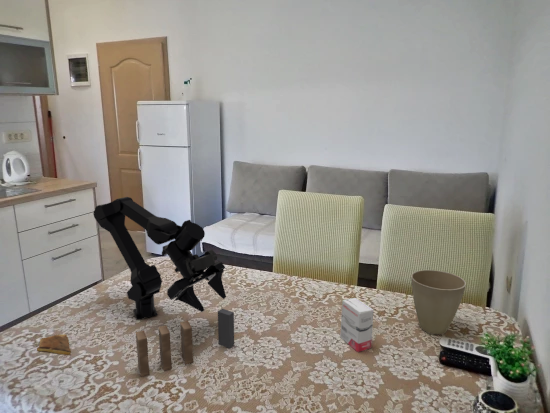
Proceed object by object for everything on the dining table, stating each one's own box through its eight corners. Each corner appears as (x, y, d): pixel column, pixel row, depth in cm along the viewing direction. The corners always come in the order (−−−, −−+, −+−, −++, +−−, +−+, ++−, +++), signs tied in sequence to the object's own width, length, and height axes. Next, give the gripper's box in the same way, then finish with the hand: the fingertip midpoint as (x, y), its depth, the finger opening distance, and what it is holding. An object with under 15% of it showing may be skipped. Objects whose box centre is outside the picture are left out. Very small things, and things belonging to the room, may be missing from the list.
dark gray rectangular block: (229, 348, 110) (229, 315, 108) (218, 344, 112) (217, 311, 110) (234, 345, 112) (233, 312, 109) (223, 340, 114) (222, 308, 112)
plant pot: (466, 327, 122) (473, 278, 118) (448, 347, 111) (455, 294, 108) (419, 311, 132) (423, 265, 128) (398, 328, 121) (402, 279, 118)
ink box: (372, 348, 111) (375, 309, 108) (357, 352, 109) (360, 313, 106) (353, 333, 118) (355, 296, 116) (339, 337, 116) (341, 299, 114)
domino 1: (141, 377, 98) (138, 340, 96) (138, 367, 102) (135, 332, 99) (149, 374, 99) (146, 338, 97) (146, 365, 102) (144, 330, 100)
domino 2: (163, 370, 100) (161, 334, 98) (160, 362, 104) (158, 327, 102) (171, 368, 101) (169, 332, 99) (168, 359, 105) (166, 325, 103)
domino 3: (185, 364, 103) (184, 329, 101) (181, 356, 106) (180, 322, 104) (193, 362, 104) (191, 327, 102) (189, 354, 107) (187, 320, 105)
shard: (71, 356, 107) (70, 350, 106) (38, 365, 103) (37, 359, 102) (67, 337, 116) (67, 332, 115) (36, 345, 112) (36, 339, 111)
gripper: (172, 253, 103) (206, 303, 99) (219, 234, 118) (250, 278, 115) (153, 275, 108) (185, 323, 105) (200, 255, 124) (229, 297, 121)
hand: (214, 304), depth 111 cm, fingers open, 9 cm apart
